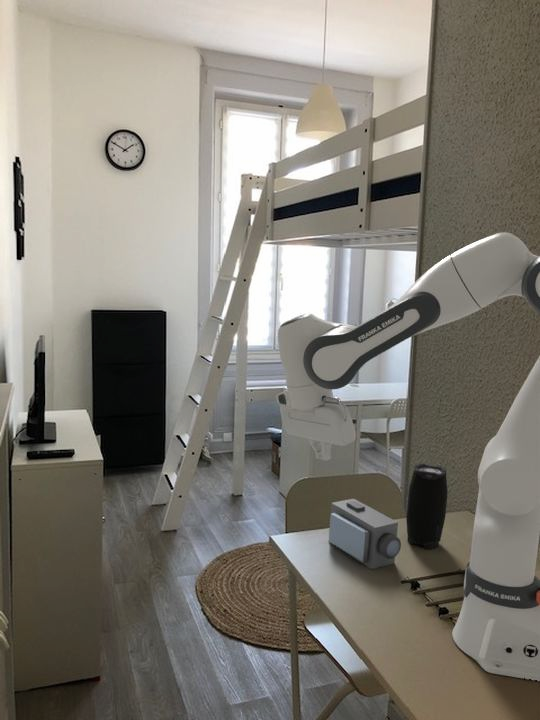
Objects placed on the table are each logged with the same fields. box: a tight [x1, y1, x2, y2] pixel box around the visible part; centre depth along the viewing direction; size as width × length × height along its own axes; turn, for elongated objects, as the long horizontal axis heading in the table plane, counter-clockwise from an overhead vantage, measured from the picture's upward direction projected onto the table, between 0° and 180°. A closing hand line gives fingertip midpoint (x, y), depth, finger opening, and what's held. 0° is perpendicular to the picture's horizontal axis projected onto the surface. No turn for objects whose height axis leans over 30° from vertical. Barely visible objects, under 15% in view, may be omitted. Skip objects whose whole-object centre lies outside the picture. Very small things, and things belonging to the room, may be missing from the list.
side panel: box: [328, 513, 370, 563], centre depth 143 cm, size 13×1×7 cm, turn 35°
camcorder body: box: [330, 498, 402, 570], centre depth 145 cm, size 19×7×11 cm, turn 32°
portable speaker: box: [405, 463, 449, 550], centre depth 153 cm, size 9×9×20 cm
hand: (324, 458), depth 126 cm, fingers closed
